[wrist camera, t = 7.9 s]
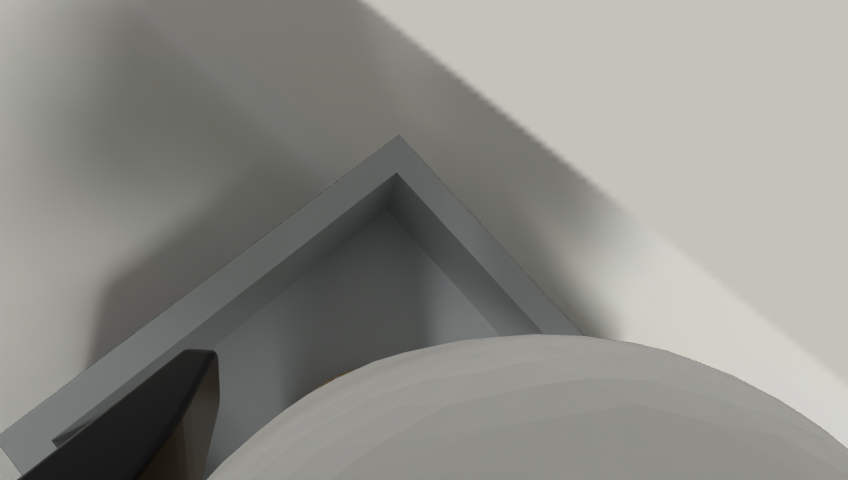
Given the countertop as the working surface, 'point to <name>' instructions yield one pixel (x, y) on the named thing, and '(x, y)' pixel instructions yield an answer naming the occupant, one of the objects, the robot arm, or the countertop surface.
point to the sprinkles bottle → (538, 420)
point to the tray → (317, 306)
